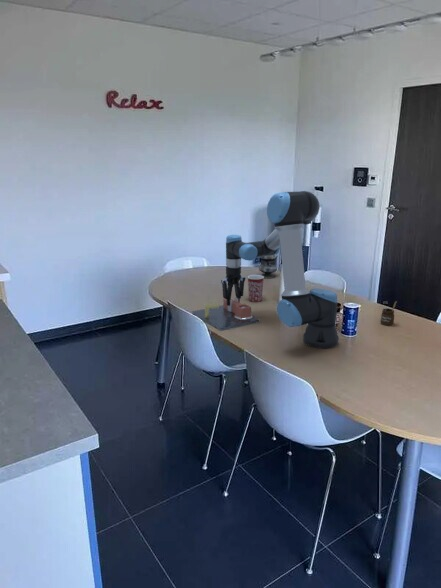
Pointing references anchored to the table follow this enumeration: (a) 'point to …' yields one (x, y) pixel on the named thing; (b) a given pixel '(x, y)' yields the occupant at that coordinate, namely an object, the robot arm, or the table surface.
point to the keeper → (209, 306)
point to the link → (238, 309)
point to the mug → (255, 287)
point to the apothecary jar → (268, 266)
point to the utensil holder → (388, 316)
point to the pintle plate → (224, 318)
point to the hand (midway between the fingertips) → (233, 310)
